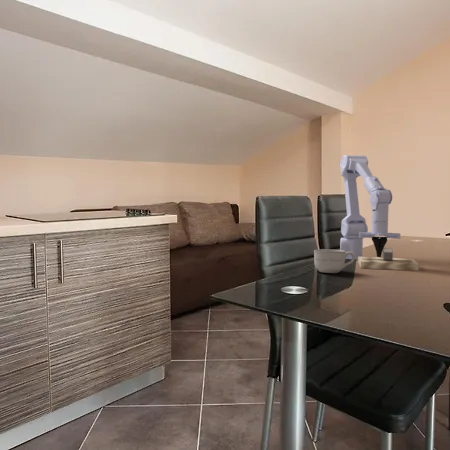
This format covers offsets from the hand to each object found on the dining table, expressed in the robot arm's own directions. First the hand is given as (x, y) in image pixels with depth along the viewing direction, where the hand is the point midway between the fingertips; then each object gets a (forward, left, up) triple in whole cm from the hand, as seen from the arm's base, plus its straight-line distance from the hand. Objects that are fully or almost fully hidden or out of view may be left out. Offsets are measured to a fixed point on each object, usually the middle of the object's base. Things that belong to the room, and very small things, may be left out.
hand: (378, 256), depth 154 cm
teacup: (-17, -17, -4) cm, 24 cm away
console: (+3, 0, -4) cm, 5 cm away
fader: (+3, 0, -1) cm, 3 cm away
